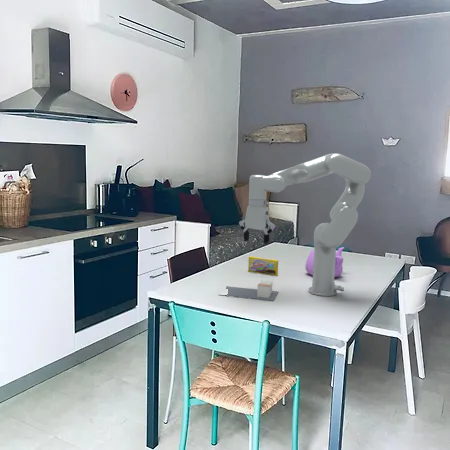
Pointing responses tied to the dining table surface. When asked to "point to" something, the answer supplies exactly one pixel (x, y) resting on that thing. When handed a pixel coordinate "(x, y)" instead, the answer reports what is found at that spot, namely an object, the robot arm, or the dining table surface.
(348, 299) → the dining table surface
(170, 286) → the dining table surface
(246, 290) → the mat
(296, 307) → the dining table surface
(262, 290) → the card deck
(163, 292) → the dining table surface
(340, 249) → the teapot
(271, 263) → the candy box
